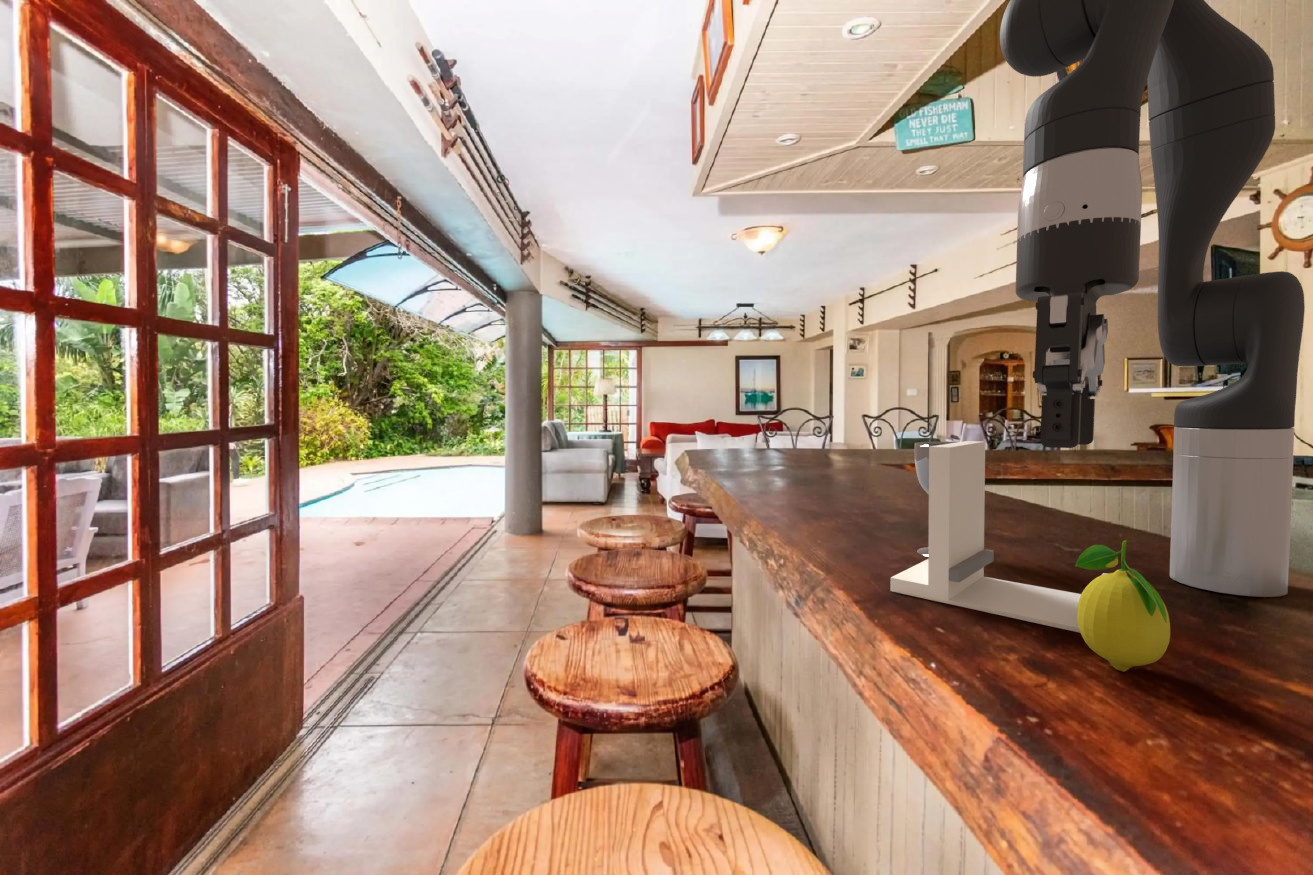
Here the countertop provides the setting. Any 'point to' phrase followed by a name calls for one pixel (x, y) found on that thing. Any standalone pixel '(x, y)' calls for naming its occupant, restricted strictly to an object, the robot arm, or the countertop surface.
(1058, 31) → the robot arm
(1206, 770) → the countertop surface
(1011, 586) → the white lipped stand
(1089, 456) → the countertop surface
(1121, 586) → the lemon
